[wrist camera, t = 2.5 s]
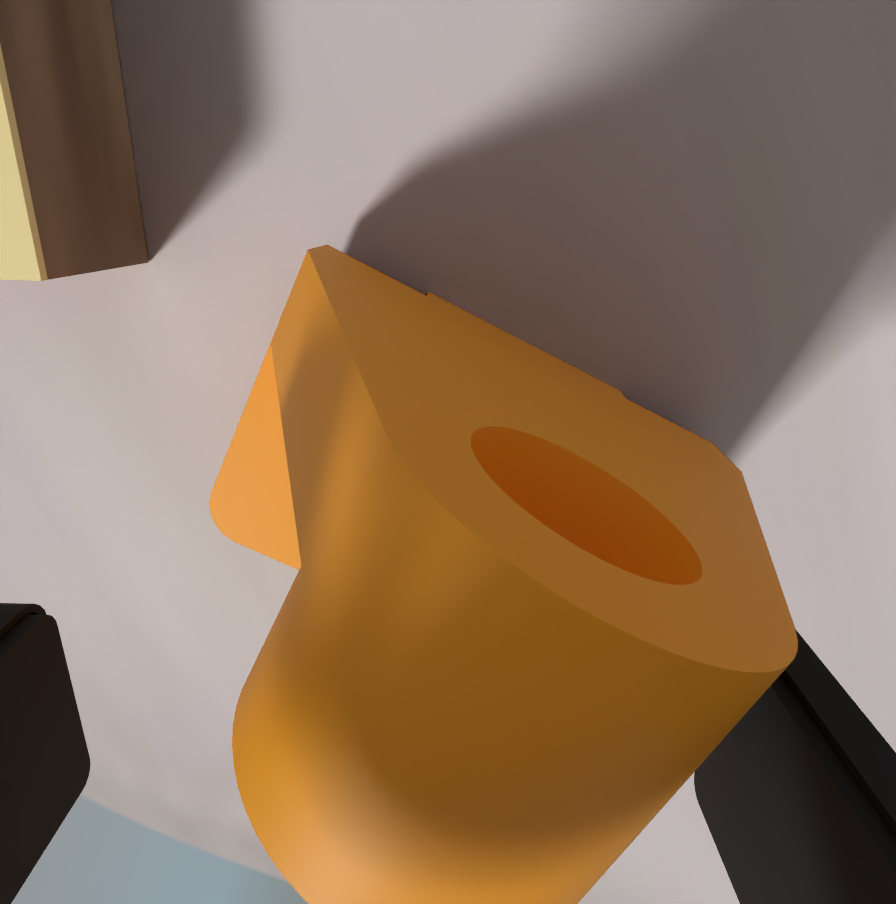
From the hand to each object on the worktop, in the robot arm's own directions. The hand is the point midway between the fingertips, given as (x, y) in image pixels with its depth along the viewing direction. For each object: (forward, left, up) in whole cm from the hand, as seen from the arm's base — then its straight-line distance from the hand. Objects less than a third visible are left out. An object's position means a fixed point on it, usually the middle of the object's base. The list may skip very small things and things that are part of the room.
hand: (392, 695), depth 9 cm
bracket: (-1, 0, -9) cm, 9 cm away
